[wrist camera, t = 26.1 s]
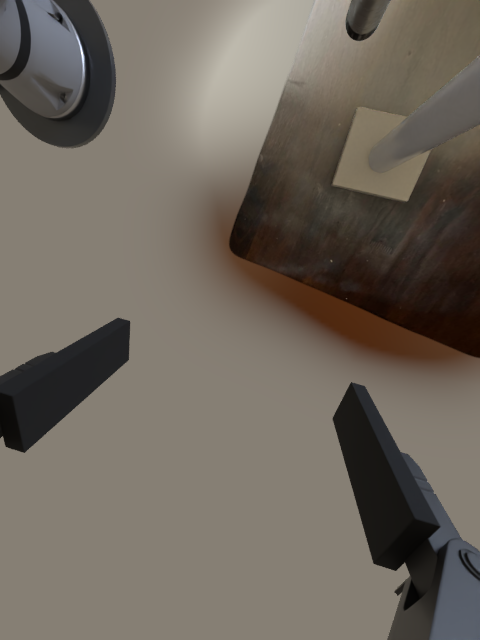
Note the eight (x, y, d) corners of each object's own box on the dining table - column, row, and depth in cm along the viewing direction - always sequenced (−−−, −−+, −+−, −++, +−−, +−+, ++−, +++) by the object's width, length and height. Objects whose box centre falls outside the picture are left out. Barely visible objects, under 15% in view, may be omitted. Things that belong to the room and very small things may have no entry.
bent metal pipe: (465, 124, 24) (656, 21, 12) (419, 163, 26) (545, 107, 14) (376, -26, 21) (507, -362, 9) (331, 28, 23) (391, -194, 11)
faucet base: (436, 128, 34) (690, -31, 13) (403, 202, 38) (557, 172, 17) (355, 110, 35) (473, -67, 14) (330, 185, 39) (392, 136, 18)
